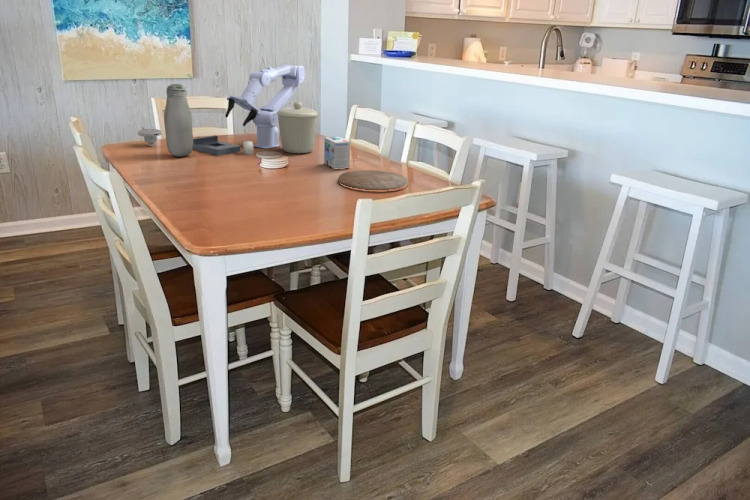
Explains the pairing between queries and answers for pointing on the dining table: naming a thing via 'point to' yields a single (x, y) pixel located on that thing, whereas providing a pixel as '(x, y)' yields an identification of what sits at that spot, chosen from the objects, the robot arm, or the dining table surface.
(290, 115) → the canister
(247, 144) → the white rounded capsule
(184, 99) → the grey green bottle
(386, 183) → the trivet
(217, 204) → the dining table surface
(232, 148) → the jig
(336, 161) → the light bulb box
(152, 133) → the showerhead
